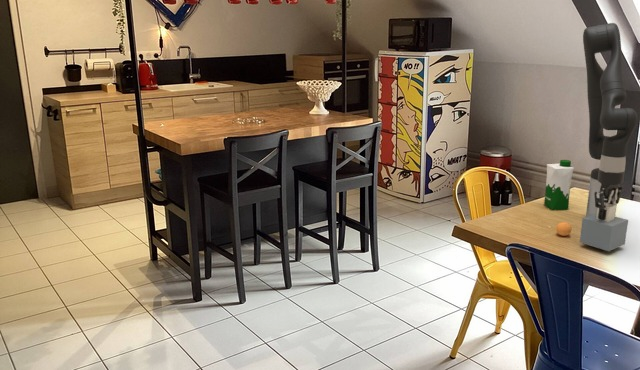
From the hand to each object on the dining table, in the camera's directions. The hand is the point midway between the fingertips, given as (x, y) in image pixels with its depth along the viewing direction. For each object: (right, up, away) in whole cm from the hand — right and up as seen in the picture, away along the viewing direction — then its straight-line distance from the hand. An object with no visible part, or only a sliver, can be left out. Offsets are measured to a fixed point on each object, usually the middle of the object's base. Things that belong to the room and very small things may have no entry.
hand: (605, 217), depth 187 cm
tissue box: (0, -9, +3) cm, 9 cm away
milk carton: (+2, +1, +45) cm, 45 cm away
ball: (-8, -5, +14) cm, 17 cm away
